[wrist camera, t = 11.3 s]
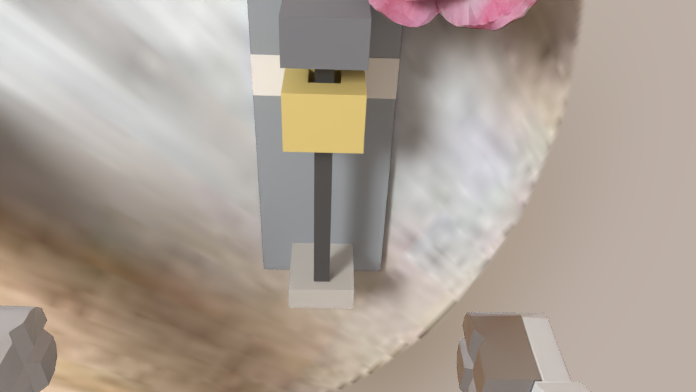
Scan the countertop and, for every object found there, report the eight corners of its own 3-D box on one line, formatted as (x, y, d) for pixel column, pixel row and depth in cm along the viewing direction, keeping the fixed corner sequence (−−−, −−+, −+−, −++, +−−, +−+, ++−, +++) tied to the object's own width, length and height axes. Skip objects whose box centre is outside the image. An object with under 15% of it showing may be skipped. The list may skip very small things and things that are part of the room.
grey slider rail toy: (264, 264, 53) (255, 325, 47) (246, -33, 38) (230, 5, 32) (379, 266, 53) (385, 327, 48) (406, -28, 38) (418, 11, 33)
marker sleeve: (287, 112, 42) (282, 151, 38) (286, 58, 40) (280, 93, 36) (360, 114, 42) (363, 153, 38) (363, 60, 40) (366, 95, 36)
